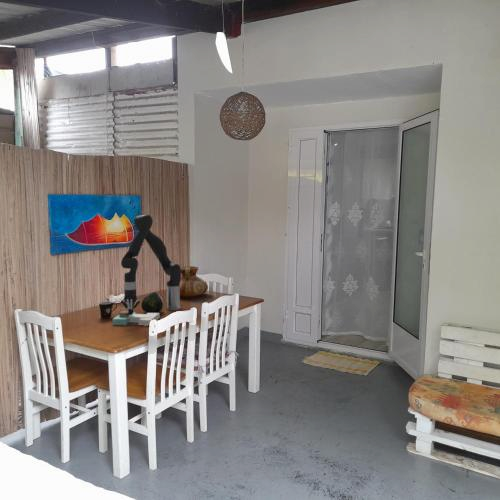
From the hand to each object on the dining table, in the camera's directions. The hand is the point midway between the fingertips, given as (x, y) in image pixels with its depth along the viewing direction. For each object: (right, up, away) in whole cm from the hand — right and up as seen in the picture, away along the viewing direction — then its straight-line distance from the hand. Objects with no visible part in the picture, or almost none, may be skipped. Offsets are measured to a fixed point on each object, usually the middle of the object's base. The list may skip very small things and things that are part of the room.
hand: (130, 314), depth 293 cm
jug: (+27, +4, +79) cm, 83 cm away
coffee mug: (-18, -4, +10) cm, 21 cm away
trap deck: (+4, -5, 0) cm, 6 cm away
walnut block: (-4, -1, 0) cm, 4 cm away
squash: (+9, -2, +24) cm, 25 cm away
